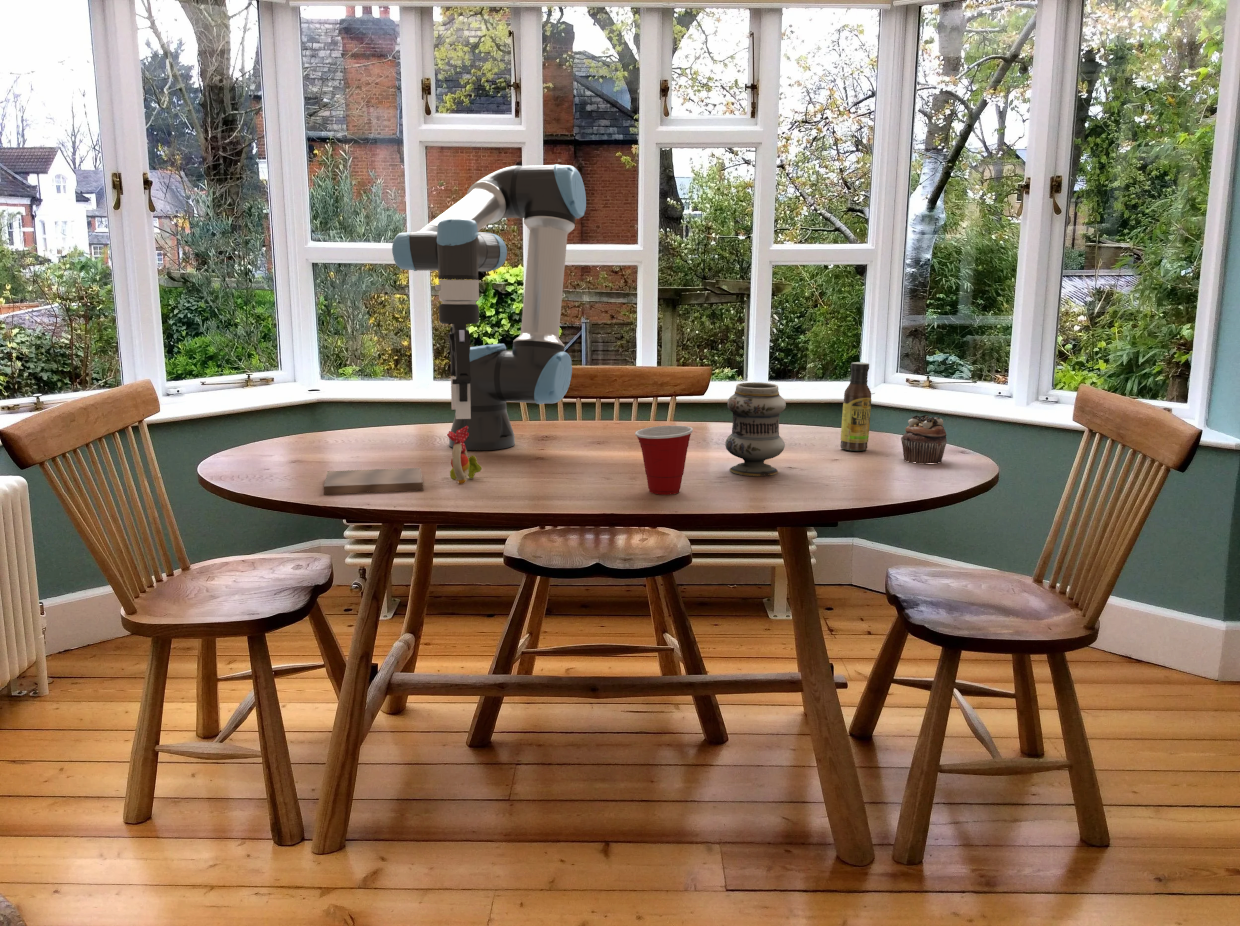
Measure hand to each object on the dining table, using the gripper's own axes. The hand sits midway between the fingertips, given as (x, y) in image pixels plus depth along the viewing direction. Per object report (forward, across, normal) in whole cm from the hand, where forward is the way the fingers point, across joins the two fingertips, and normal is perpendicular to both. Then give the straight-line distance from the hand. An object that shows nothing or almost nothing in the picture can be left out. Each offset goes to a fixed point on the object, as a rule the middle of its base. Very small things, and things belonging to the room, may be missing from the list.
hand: (460, 414), depth 201 cm
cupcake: (+13, -2, +99) cm, 100 cm away
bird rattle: (+14, 0, 0) cm, 14 cm away
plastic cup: (+13, +16, +36) cm, 42 cm away
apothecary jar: (+13, +2, +59) cm, 61 cm away
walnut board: (+13, 0, -17) cm, 21 cm away
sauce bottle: (+13, -16, +90) cm, 93 cm away
